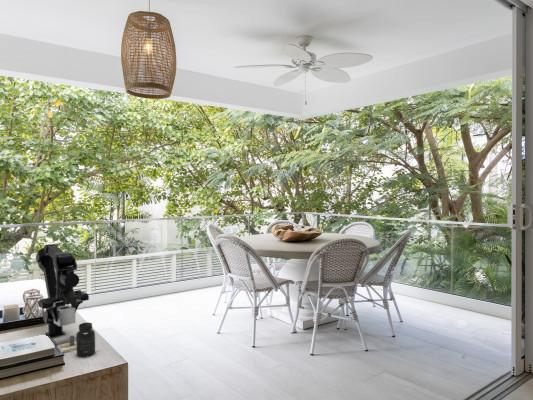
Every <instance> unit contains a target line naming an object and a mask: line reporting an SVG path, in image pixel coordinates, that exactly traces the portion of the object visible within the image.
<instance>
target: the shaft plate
mask: <svg viewBox="0 0 533 400" xmlns="http://www.w3.org/2000/svg"><path fill="white" fill-rule="evenodd" d="M58 345H59V347H60V349H61V350H62V351H63V352H65V353H68V351H69V352H72V351H71V350H73V351H75V349H76V350H77V345H76V340H75V336H74V335H69V342H66V343H62V344H58Z"/></svg>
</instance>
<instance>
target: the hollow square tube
mask: <svg viewBox="0 0 533 400" xmlns="http://www.w3.org/2000/svg"><path fill="white" fill-rule="evenodd" d="M65 305H66V304H65ZM54 323H55V324H56V325H58V326H62V327H64V326H67V325H68V326H69V325H72V324H76V313H75V308H74V307H72V306H71V304H69V305H66V306H61V307H57V322H55V320H54Z"/></svg>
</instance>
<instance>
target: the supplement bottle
mask: <svg viewBox="0 0 533 400" xmlns="http://www.w3.org/2000/svg"><path fill="white" fill-rule="evenodd" d="M75 337H76V338H75V339H76V340H75V341H76V345H77V349H76V355H77V357H78V358H88V357H87V356H89V357H92V356H93V355H95V353H96V332H95V330H94V329H93V323H92V322H82V323H80V324H79V325H78V331H77V332H76V336H75Z"/></svg>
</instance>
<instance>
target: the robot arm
mask: <svg viewBox="0 0 533 400" xmlns="http://www.w3.org/2000/svg"><path fill="white" fill-rule="evenodd" d="M35 261H36V263H37V266H38V268H39V269H40V270H41V271H42V272H43V278H44V282H45V287H46V288H45V289H46V294H47V298H46V297H45V298H41V299H40V298H39V300H38V301H37V303H38V304H37V305H38V307H39V308H41V309H44V314H43V318H42V319H43V322H44V323H45V324H46V325H47V328H48V329H47V332H45V335H46V334H47V335H48V336H47V335H46V336H47V337H49V336H50V337H51V338H55V337H58V336H62V335H66V332H65V331H63V327H64V326H58V325H56V324H55V323H54V320H55V322H57V307H61V306H66V305H70V306H72V307H74V308H75V314H76V313H77V309H78V308H79V306H80V305H81V304H83V303H84V302H85V301H89V300H90V296H89V294H88V293H87V292H84V291H82V290H81V289H78V290H74V288H75V287H76V286H77V285H79V284H80V277H79V276H78V275H77V274H76V273H75V271H77V270H78V264H77V261H76V258H75V256H74V255H73V254H72V253H71V252H69V251H68V252H67V251H64V250H62V249H61V248H60V247H58V244H56V243H52V244H51V243H49V244H45V245H43V248H41V249H40V250H38V251H37V253H36V255H35ZM50 337H49V338H50Z"/></svg>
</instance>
